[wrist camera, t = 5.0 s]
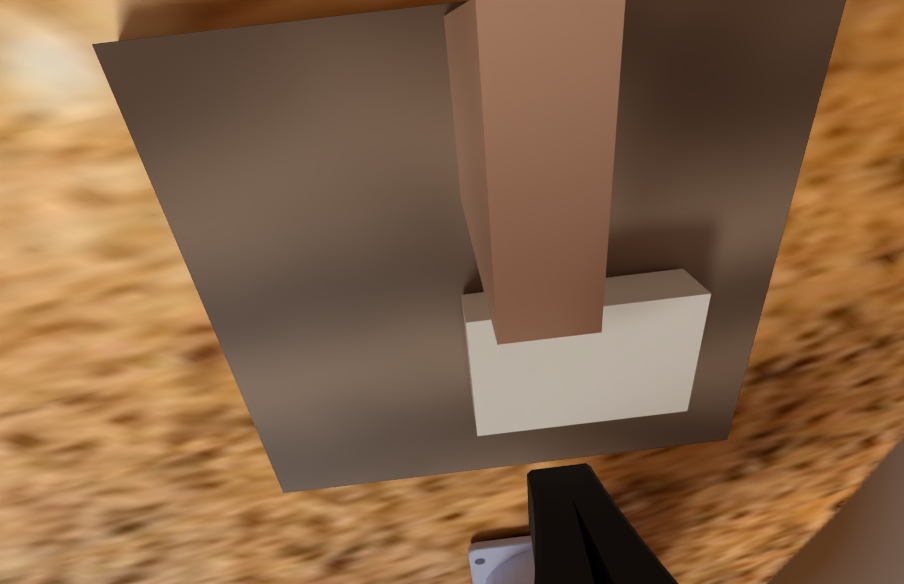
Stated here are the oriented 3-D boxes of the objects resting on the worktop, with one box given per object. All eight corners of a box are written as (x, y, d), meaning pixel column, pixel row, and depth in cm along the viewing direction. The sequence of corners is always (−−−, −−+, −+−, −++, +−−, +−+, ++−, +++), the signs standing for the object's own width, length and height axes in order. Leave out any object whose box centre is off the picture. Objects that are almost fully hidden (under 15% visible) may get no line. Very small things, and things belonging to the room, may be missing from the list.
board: (713, 421, 20) (726, 439, 19) (289, 472, 20) (283, 493, 19) (825, -39, 12) (857, -44, 11) (116, 43, 12) (92, 44, 11)
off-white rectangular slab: (472, 399, 17) (663, 376, 17) (477, 436, 15) (687, 411, 15) (460, 292, 15) (680, 266, 15) (465, 322, 13) (711, 293, 13)
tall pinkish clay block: (517, 193, 13) (601, 332, 7) (460, 199, 13) (497, 345, 7) (510, 8, 11) (626, -21, 5) (443, 15, 11) (474, -4, 5)
